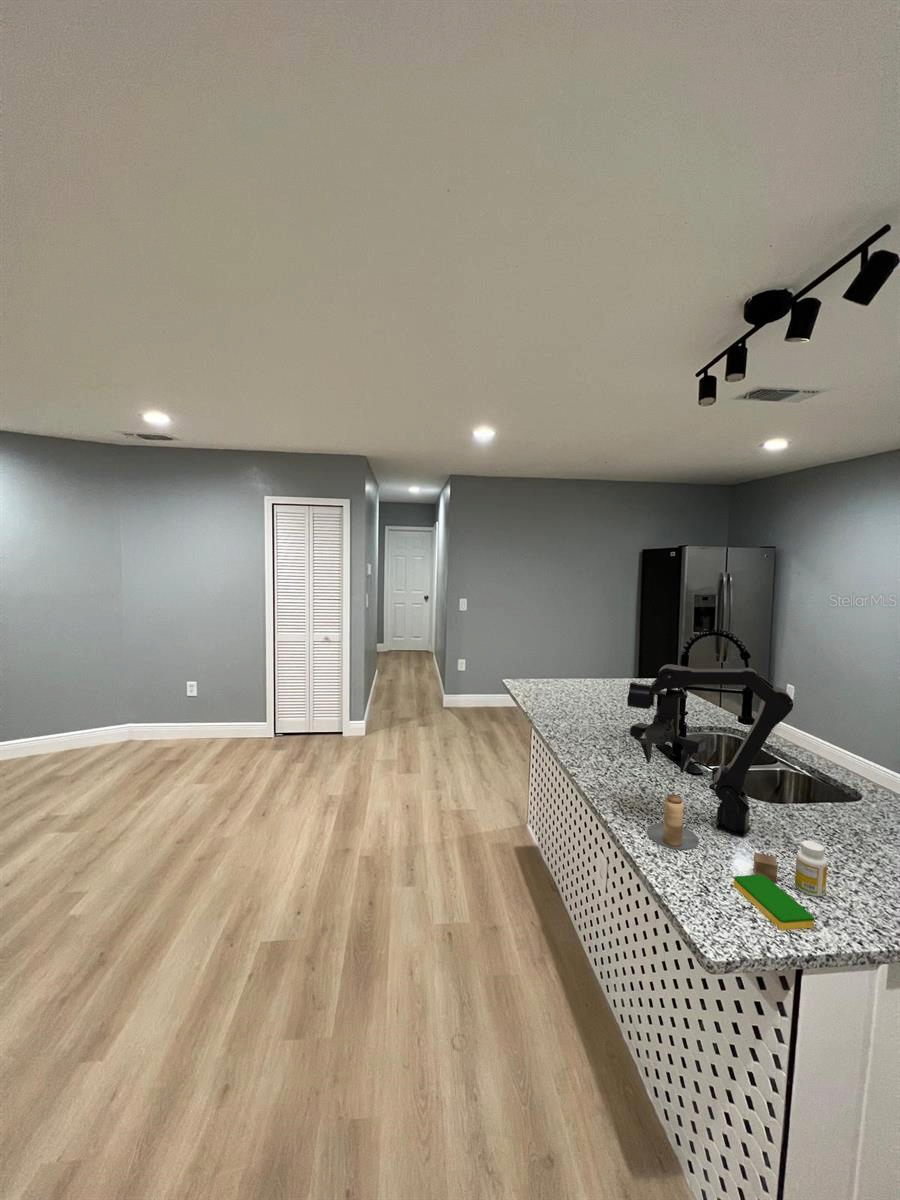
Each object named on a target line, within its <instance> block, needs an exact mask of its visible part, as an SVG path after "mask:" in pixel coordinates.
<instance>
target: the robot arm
mask: <svg viewBox="0 0 900 1200" xmlns="http://www.w3.org/2000/svg"><path fill="white" fill-rule="evenodd" d="M695 685H696V686H697V685H701V686H703V685H706V686H708V685H711V686H712V685H714V686H718V685H719V686H726V685H727V686H728V685H729V686H746V687H747V688H749V689H750V690H751V691H752V692H753V693H754V694H755V695H756V696H757V697H758V698H759V699H760V703H759V707H758V712H757V715H756V718H755V720H754V722H753V724H752V725H751V727H750V728H749V731H748V732H747V734H746V736H745V737H744V739H743V740H742V743H741V744H740V746H739V748H738V750H737V751H736V753H735V755H734V756H733V758H732V759H731V761H730V762H729V763H728V764H727V765H724V764H723V763H720V764H719V767H718V770H717V771H716V772H715V773H714V774H713V784H714V793H715V796H716V798H717V799H718V800H720V801H721V802H720V803H719V806H718V807H717V812H716V825H715V827H716V828H717V829H719V830H722V831H725V832H727V833H730V834H733V835H736V836H738V837H745V836H746V835H747V834H748V832H749V831H750V830H751V829H752V828H751V826H750V812H751V809H750V805H749V799H748V794H747V792H746V791H745V790H743V789H744V785H745V781H746V776H747V773H748V772H749V770H750V768H751V766H752V765H753V763H754V762H755V759H756V758H757V756H758V754H759V753H760V751H761V750H762V748H763V746H764V744H765V743H766V741H767V739H768V738H769V736H770V734H771V733H772V731H773V729H774V728H775V727H776V726H778V724H780V723H781V722H782V721H783V720H785V719H786V717H788V715H789V714H790V713H791V712H792V710H793V708H794V702H793V699H792V698H791V696H790V694H789V693H788V692H787V691H786V690H785V688H782V687H778V686H774V685H773V684H772V683H770V682H769V681H768V680H766V679H765V678H764V677H762V676H761V675H760V674H759V673H757V672H756V670H755V669H753V668H752V667H745V668H744V667H743V668H695V667H694V668H693V667H688V666H683V665H679V664H678V665H677V664H671V663H668V664H665V665H663V666H662V667H660V669H659V671H658V674H657V678H655V679H654V680H653V681H652V682H651V684H645V683H637V682H634V681H631V682H630V683H629V689H628V695H627V700H626V702H627V707H628V708H635V709H643V710H650V708H652V707H655V703H656V708H655V709H656V710H655V711H656V714H653V718H652V719H653V720H652V723H651V724H647V723H644V722H638V723H637V722H636V723H635V724H632V725H631V726H630V728H629V736H630V737H633V740H636V741H637V742H638V743H639V744H640V746H641V748H642V752H643V753H644V757H645V760H646V763H647V764H650V763H651V760H652V754H653V745H656V746H658V747H663V746H665V745H666V743H671V744H673V743H674V744H678V745H681V748H682V749H681V750H680V754H681V758H680V767H679V769H680V770H679V771H680V774H684V772H685V770H686V768H687V767H688V764H689V762H690V761H691V759H692V757H693V756H694V755H695V754H699V753H701V752H703V751H704V750H706V749H707V745H706V744H707V742H706V740H705V738H704V737H700V736H695V735H691V734H690V735H688V736H685V737H683V736H679V735H680V734H681V729H679V728H680V727H679V724H680V720H681V719H682V714H681V715H680V707H681V706H680V702H681V699H688V695H689V694H688V693H687V692H686V691H685V690H684V688H687V687H690V686H691V687H692V686H695ZM665 690H666V691H665ZM655 697H656V699H655ZM655 700H656V702H655Z"/></svg>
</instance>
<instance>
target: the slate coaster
mask: <svg viewBox="0 0 900 1200" xmlns="http://www.w3.org/2000/svg"><path fill="white" fill-rule="evenodd" d="M663 833H664V822H659V823H656V822H655V823H653V824H650V825H649V826H648V827H647V829H646V834H647V836H648V838H649V839H650V840H652V841H653V842H654V843H656V844H657V845H660V846H663V847H664V848H668V849H673V850H678V851H679V850H681V851H686V850H692V849H694V848H696V847H698V845H699V842H700V841H699V837H698V836H697V835H696V834H695V833H694V832H693V831H691V830H690V829H688V828H686V827H683V830H682V845H681V846H680V847H672V846H669V845H667V844H665V843H664V842H663Z"/></svg>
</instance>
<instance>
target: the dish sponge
mask: <svg viewBox="0 0 900 1200" xmlns="http://www.w3.org/2000/svg"><path fill="white" fill-rule="evenodd" d="M733 887H734V888H735V889H736V890H737V891H739V892H740V893H741V894H742V895H743V896H744V897H745V898H746V899H747V900H748V901H749V902H751V903H752V905H754V907H756V908H757V909H758V910H759V912H761V913H762V914H763V915H764V916H765V917H766V918H767V919H768V918H769V919H770V920H769V921H770V922H772V923H773V925H775V926H776V925H777V926H778V927H777V926H776V927H777V928H778V930H780V931H781V930H782V931H788V930H800V929H801V930H802V929H803V930H804V929H814V927H815V926H814V924H815V916H814V915H813V914H812V913H810V912H809V911H808V910H807V909H806V908H804V907H803V906H802V905H801V904H799V903H798V902H797V901H796V900H795V899H793V898H792V897H791V896H790V895H789V894H788V893H786V891H784V890H783V889H782V888H780V887H779V886H778V885H777V883H773V882H772V881H771V880H770V879H768V878H767V877H766V876H765V875H754V874H750V875H749V874H748V875H736V876H735V875H734V878H733Z"/></svg>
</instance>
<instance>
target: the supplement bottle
mask: <svg viewBox="0 0 900 1200" xmlns="http://www.w3.org/2000/svg"><path fill="white" fill-rule="evenodd" d="M800 845H801V846H800V848H801V849H800V850H798V851H797V852H796V861H795V862H796V863H795V876H794V885H795V887H796V888H797V889H798V890H799V891H800V892H802V893H804V894H806V895H810V896H813V897H822V896H825V895H826V891H827V890H826V888H827V877H828V873H827V872H828V859H827V858H826V857H825V847H824V846H823V845H822V844H820V843H819V842H816V841H813V840H802V842H801V844H800Z"/></svg>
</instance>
